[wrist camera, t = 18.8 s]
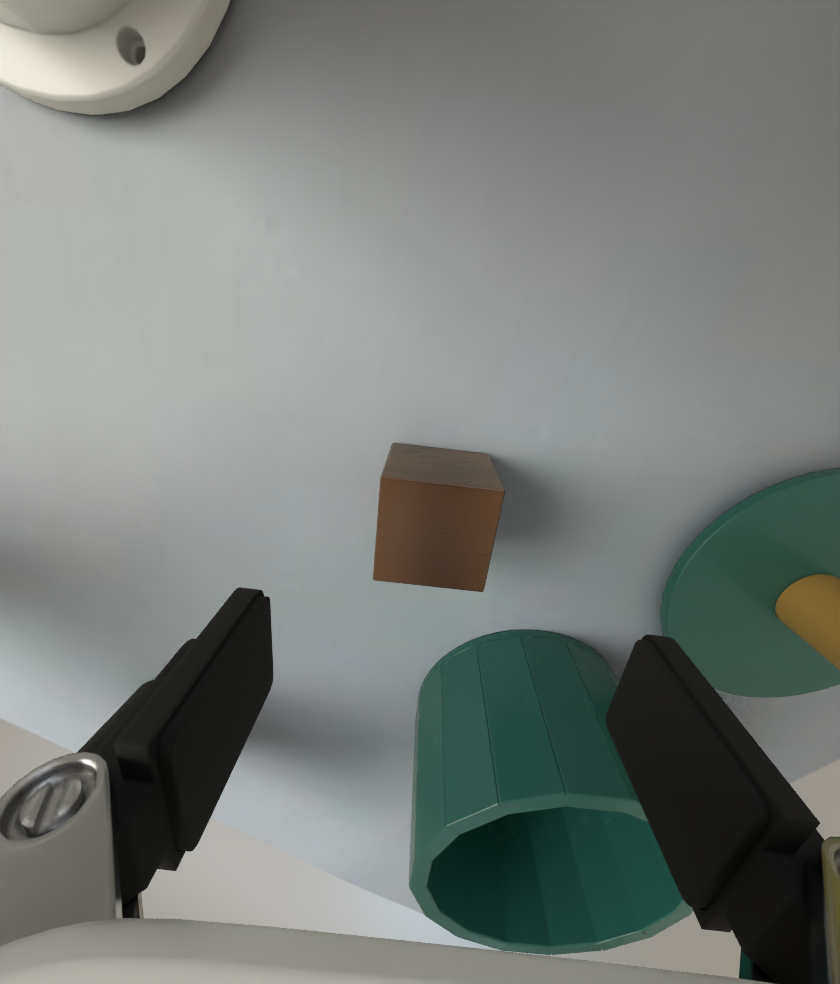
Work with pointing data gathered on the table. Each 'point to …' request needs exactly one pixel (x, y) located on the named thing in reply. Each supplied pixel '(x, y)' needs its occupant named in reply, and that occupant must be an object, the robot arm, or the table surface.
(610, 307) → the table surface
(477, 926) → the tin
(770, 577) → the tin lid
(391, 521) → the block
